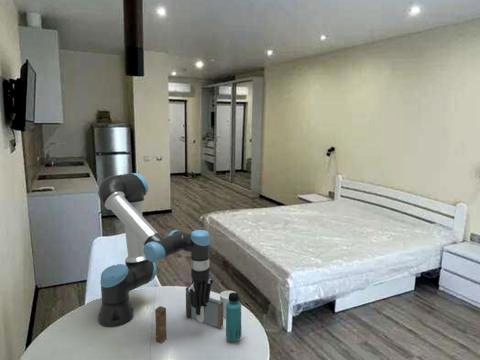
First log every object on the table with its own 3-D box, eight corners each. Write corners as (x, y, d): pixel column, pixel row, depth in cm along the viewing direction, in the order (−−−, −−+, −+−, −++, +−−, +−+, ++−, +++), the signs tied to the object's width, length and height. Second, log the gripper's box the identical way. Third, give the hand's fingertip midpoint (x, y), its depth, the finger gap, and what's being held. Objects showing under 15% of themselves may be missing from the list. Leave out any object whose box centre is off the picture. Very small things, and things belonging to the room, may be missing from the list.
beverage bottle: (235, 346, 136) (236, 300, 133) (222, 341, 140) (222, 295, 136) (244, 338, 142) (245, 293, 139) (231, 333, 145) (231, 289, 142)
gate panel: (190, 317, 155) (190, 293, 153) (194, 314, 157) (194, 291, 155) (220, 327, 147) (220, 303, 145) (223, 325, 149) (223, 300, 147)
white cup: (234, 320, 155) (234, 299, 153) (217, 318, 156) (218, 297, 155) (238, 311, 163) (238, 291, 161) (222, 309, 164) (222, 289, 163)
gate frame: (156, 341, 139) (155, 309, 137) (205, 299, 173) (205, 273, 171) (161, 343, 137) (161, 311, 135) (210, 301, 171) (210, 274, 169)
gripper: (194, 275, 134) (194, 330, 137) (217, 265, 143) (217, 317, 147) (182, 270, 138) (182, 323, 142) (205, 260, 148) (205, 311, 152)
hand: (200, 320), depth 144 cm, fingers closed
